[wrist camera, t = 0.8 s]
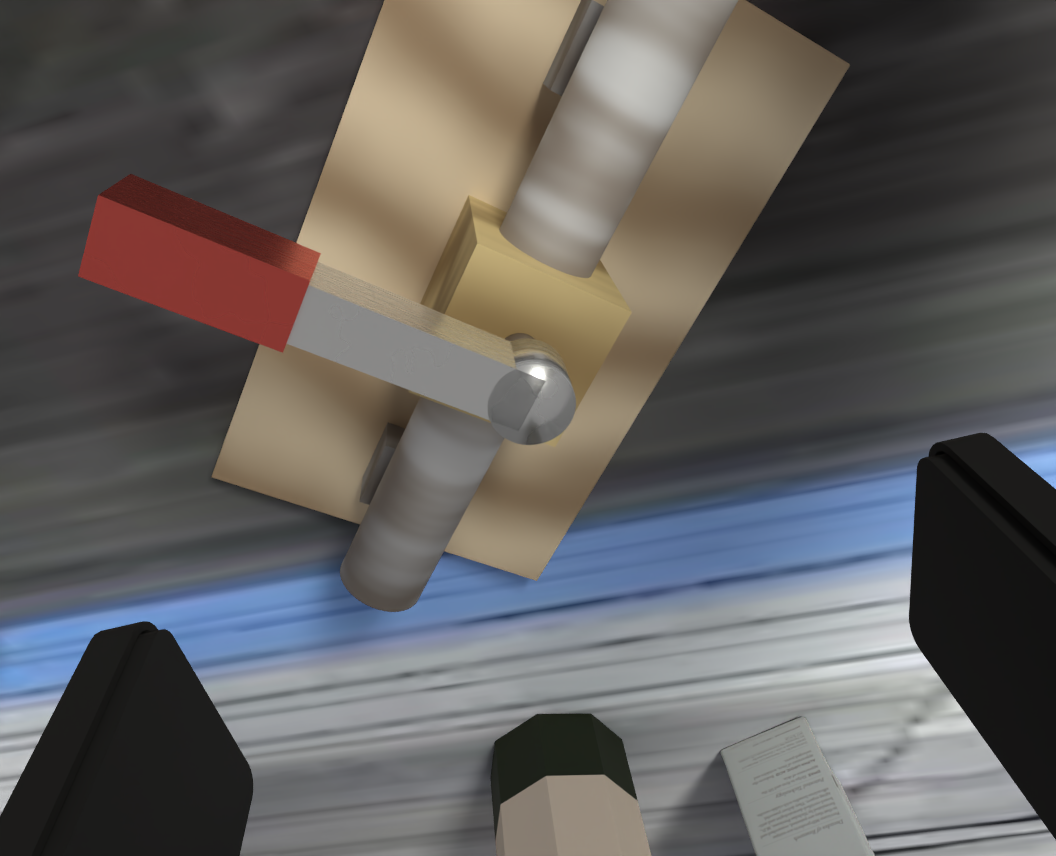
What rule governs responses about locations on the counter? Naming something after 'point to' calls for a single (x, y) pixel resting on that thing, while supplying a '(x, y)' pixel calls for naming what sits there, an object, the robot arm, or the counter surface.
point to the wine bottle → (564, 791)
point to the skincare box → (792, 795)
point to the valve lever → (317, 309)
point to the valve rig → (521, 254)
